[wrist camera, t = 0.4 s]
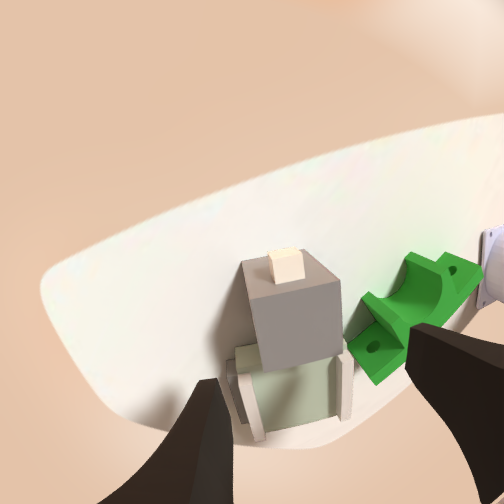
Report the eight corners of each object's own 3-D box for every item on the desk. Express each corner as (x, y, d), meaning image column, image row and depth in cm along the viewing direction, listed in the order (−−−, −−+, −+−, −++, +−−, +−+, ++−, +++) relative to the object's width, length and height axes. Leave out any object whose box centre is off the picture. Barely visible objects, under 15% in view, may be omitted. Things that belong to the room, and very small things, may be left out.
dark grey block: (301, 230, 17) (338, 253, 11) (310, 305, 19) (342, 353, 13) (237, 242, 17) (244, 272, 11) (252, 318, 18) (264, 373, 13)
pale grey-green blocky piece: (334, 325, 19) (354, 352, 15) (335, 393, 21) (350, 422, 17) (223, 349, 19) (223, 382, 15) (242, 414, 20) (245, 447, 17)
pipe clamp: (432, 226, 18) (473, 237, 14) (447, 260, 19) (484, 276, 15) (327, 324, 19) (353, 358, 15) (351, 352, 20) (376, 387, 16)
